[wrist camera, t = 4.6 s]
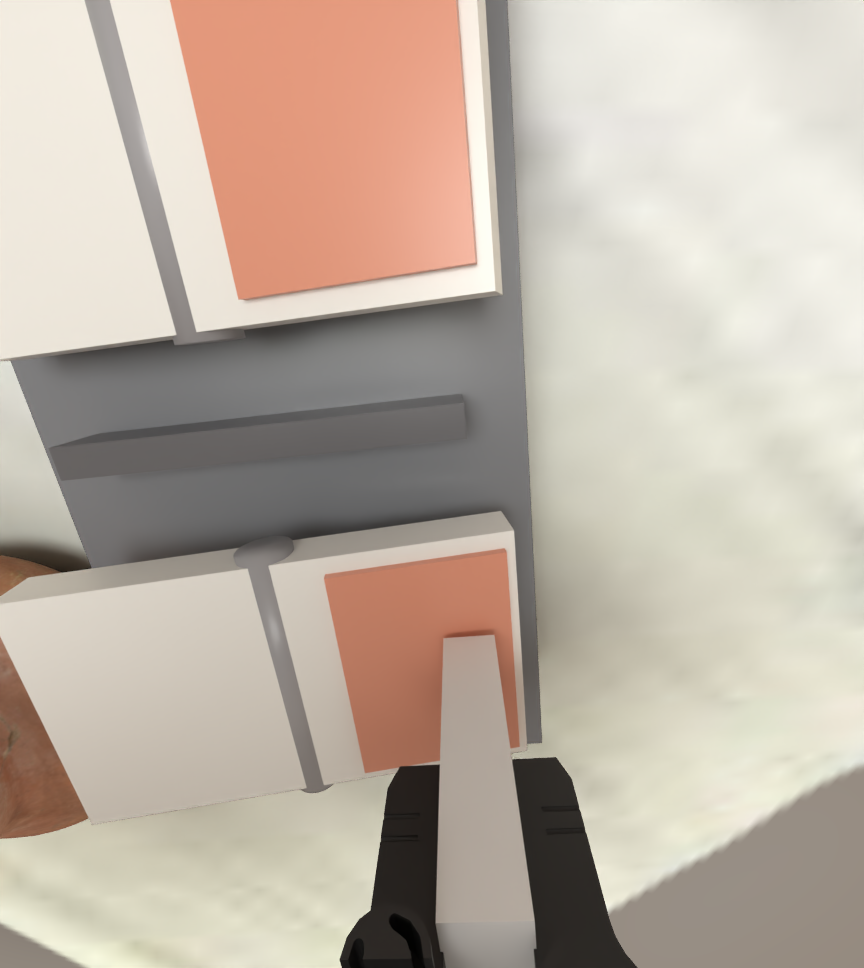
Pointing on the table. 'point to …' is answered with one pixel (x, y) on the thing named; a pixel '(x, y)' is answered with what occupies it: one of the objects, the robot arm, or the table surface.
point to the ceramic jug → (28, 745)
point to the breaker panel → (308, 421)
